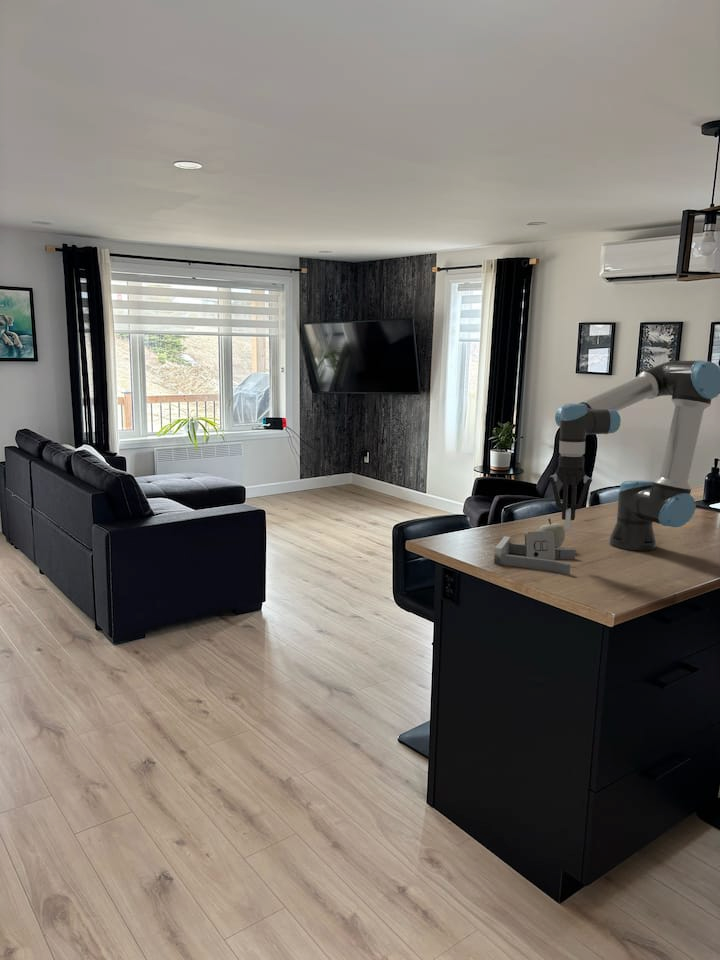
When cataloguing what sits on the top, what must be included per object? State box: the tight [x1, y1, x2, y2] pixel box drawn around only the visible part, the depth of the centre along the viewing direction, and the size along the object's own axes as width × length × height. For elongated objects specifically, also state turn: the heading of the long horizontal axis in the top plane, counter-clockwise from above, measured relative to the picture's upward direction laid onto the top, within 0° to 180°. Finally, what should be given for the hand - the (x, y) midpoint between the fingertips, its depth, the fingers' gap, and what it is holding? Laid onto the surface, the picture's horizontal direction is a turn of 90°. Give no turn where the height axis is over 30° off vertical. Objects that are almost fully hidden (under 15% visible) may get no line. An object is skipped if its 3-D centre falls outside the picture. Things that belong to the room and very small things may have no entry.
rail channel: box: [493, 535, 577, 576], centre depth 223 cm, size 23×21×5 cm
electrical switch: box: [524, 530, 556, 560], centre depth 227 cm, size 9×5×9 cm, turn 101°
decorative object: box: [538, 518, 566, 548], centre depth 240 cm, size 9×9×10 cm
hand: (567, 530), depth 219 cm, fingers closed
